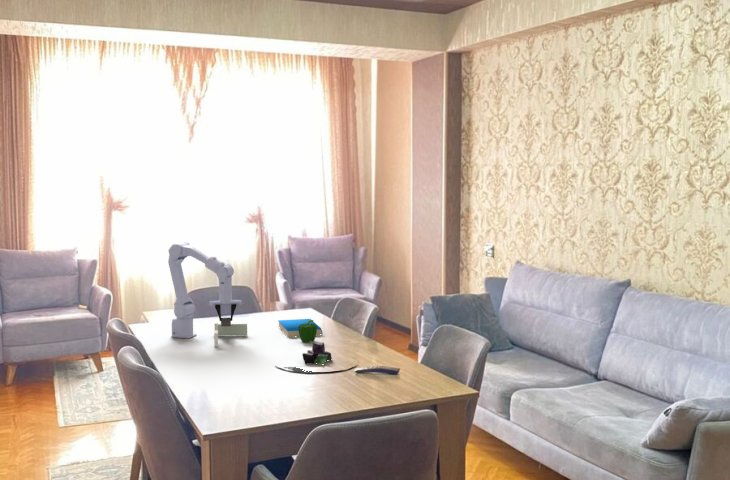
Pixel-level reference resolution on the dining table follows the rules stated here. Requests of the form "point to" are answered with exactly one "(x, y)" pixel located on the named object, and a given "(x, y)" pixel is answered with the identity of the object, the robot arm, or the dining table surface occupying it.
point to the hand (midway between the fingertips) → (225, 320)
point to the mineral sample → (313, 357)
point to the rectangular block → (216, 334)
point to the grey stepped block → (225, 322)
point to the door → (232, 330)
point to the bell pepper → (307, 331)
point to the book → (295, 326)
